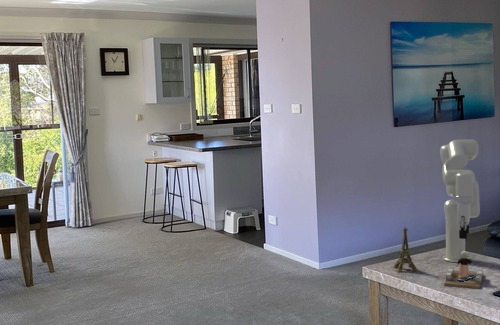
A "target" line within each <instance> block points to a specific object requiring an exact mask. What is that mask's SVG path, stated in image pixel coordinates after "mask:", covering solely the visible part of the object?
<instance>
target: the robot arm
mask: <svg viewBox="0 0 500 325" xmlns="http://www.w3.org/2000/svg"><path fill="white" fill-rule="evenodd" d="M479 150H480V148H479V143H478V142H477V140H475V139H472V138H471V139H470V138H469V139H453V140H451V141H449V143H448V144H444V145H442V146H441V147H440V149H439V155H440V156H439V157H440V160H441V163H442V168H441V175H442V182H443V183H444V185H445V188H446V190H445V191H446V194H447V195H448V196H449V197H453V198H451V199H448V200H446V201H445V202H444V204H443V212H444V216H445V217H444V220H445V254H444V255H443V256H442V260H444V261H446V262H450V263H457V262H458V261H459V260H460V259H461V258H462V256H461V252H462V251H466V240H467V237H468V236H467V235H469V234H470V225H469V223H470V221H471V220H470V219H471V218H472V219H473V218H474V219H475V218H478V217H479V216H480V213H481V209H480V208H481V205H480V189H479V188H480V187H479V183H478V180H477V179H476V175H475V173H474V171H473V170H471V169H463V168H464V167H466V166H467V165H468V163H469V161H473V160H475V159H476V157H477V156H478V154H479V152H480V151H479ZM467 259H469V257H468V256H467Z"/></svg>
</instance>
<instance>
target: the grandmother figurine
mask: <svg viewBox="0 0 500 325" xmlns="http://www.w3.org/2000/svg"><path fill="white" fill-rule="evenodd" d="M461 256H462V258H461V259H460V260H459V261H458V262H456V264H455V267H457V268H458V267H459V271H460V276H459V278H463V277H464V278H469V277H468V272H469V265H470V266H471V267H474V264H473V261H472V260H471V259H470V258H468V259H467V257H468V256H469V253H468V251H466V250H465V251H462V252H461Z"/></svg>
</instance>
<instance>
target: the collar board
mask: <svg viewBox="0 0 500 325" xmlns="http://www.w3.org/2000/svg"><path fill="white" fill-rule="evenodd" d="M469 275H474V276H476V277H475V278H473V279H470V280H468V281H464V282H459V281H457V280H456V279H459V276H460V270H454V268H451V267H449V268H448V269H447V271H446V273H445V281H444V283H443V284H444V285H443V286H444V287H452V288H455V287H456V288H462V289H463V288H465V289H466V288H467V289H477V290H480V288H481V284H482V280H483V277H484V272H483V270H479V269H478V270H477V271H468V276H469Z"/></svg>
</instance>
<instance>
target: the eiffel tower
mask: <svg viewBox="0 0 500 325" xmlns="http://www.w3.org/2000/svg"><path fill="white" fill-rule="evenodd" d="M402 231H403V233H402V234H403V235H402V243H401V248H400V249H399V250H400V254H399V256H398V259H397V260H396V262H395V263H394V265H392V266H391V267H392V269H397V270H396V273H404V271H403V268H404V267H403V266H404V265H405V264H408V265H407V267H408V268H411V271H412V272H414V273H420V271H419V270H418V269H417V267H416V265H415V264H414V262H413V258H412V257H411V255H410V254H411V253H410V252H411V250H410V249H409V242H408V241H409V240H408V233H407V231H408V228H407V227H402ZM405 255H406V256H405Z"/></svg>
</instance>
